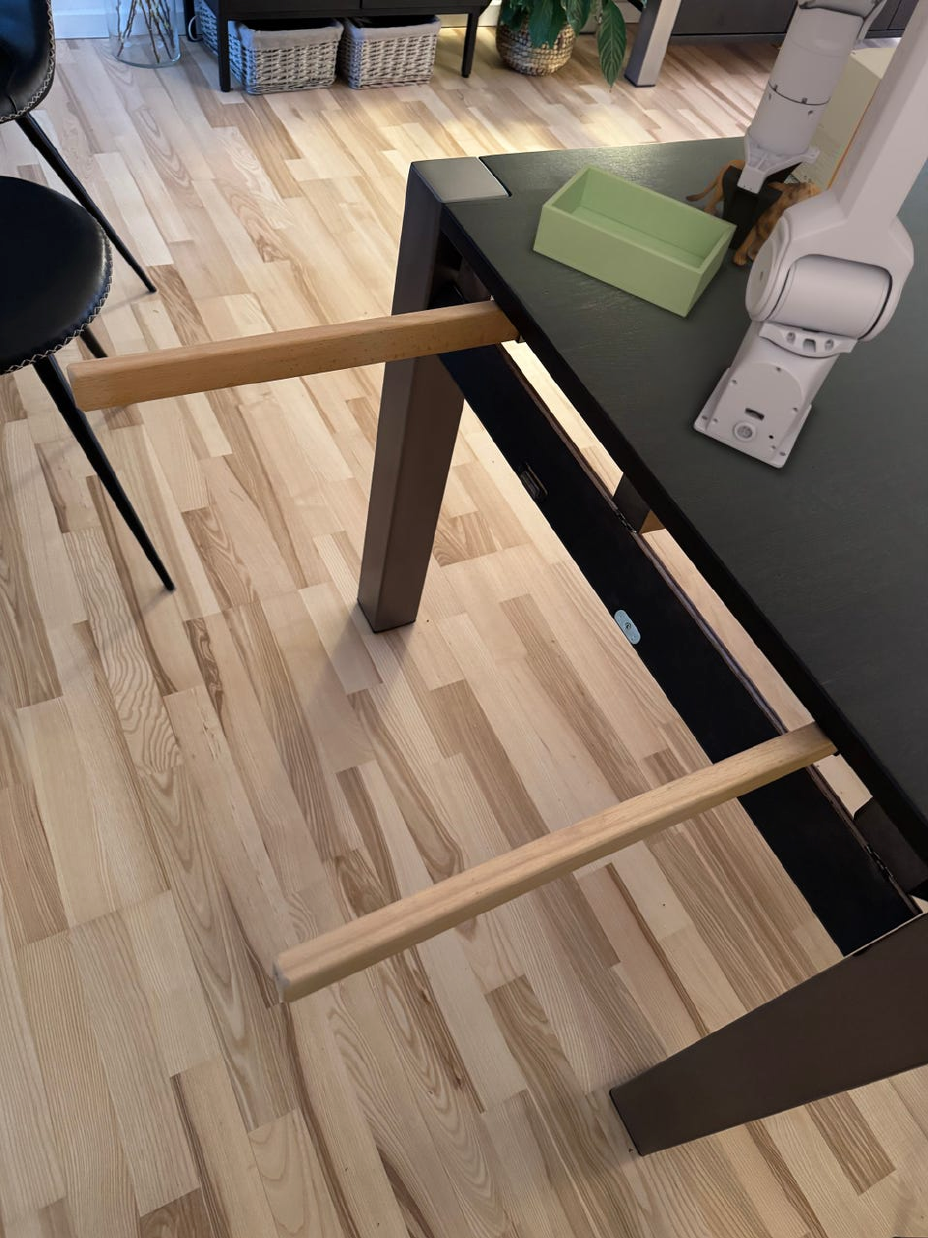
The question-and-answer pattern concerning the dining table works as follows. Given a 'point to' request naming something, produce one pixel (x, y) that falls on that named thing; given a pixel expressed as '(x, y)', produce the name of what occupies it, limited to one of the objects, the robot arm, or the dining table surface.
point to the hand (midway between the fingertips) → (739, 229)
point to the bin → (633, 238)
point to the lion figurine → (769, 218)
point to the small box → (844, 114)
